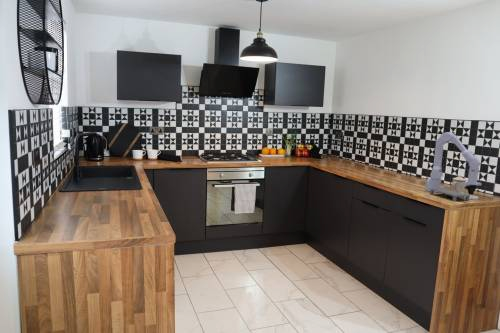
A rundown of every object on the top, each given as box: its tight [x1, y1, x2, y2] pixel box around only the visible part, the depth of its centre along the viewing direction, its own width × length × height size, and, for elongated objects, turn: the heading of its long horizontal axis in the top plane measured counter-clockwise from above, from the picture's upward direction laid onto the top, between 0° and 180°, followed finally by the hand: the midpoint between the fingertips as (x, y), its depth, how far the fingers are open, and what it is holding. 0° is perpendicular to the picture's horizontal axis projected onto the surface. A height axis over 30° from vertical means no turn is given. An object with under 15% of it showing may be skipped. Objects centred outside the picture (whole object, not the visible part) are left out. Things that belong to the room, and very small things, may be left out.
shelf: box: [429, 187, 470, 203], centre depth 265 cm, size 12×22×4 cm, turn 17°
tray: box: [448, 192, 480, 201], centre depth 269 cm, size 12×15×2 cm
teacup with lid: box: [450, 175, 467, 193], centre depth 290 cm, size 12×9×12 cm
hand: (470, 195), depth 271 cm, fingers closed
